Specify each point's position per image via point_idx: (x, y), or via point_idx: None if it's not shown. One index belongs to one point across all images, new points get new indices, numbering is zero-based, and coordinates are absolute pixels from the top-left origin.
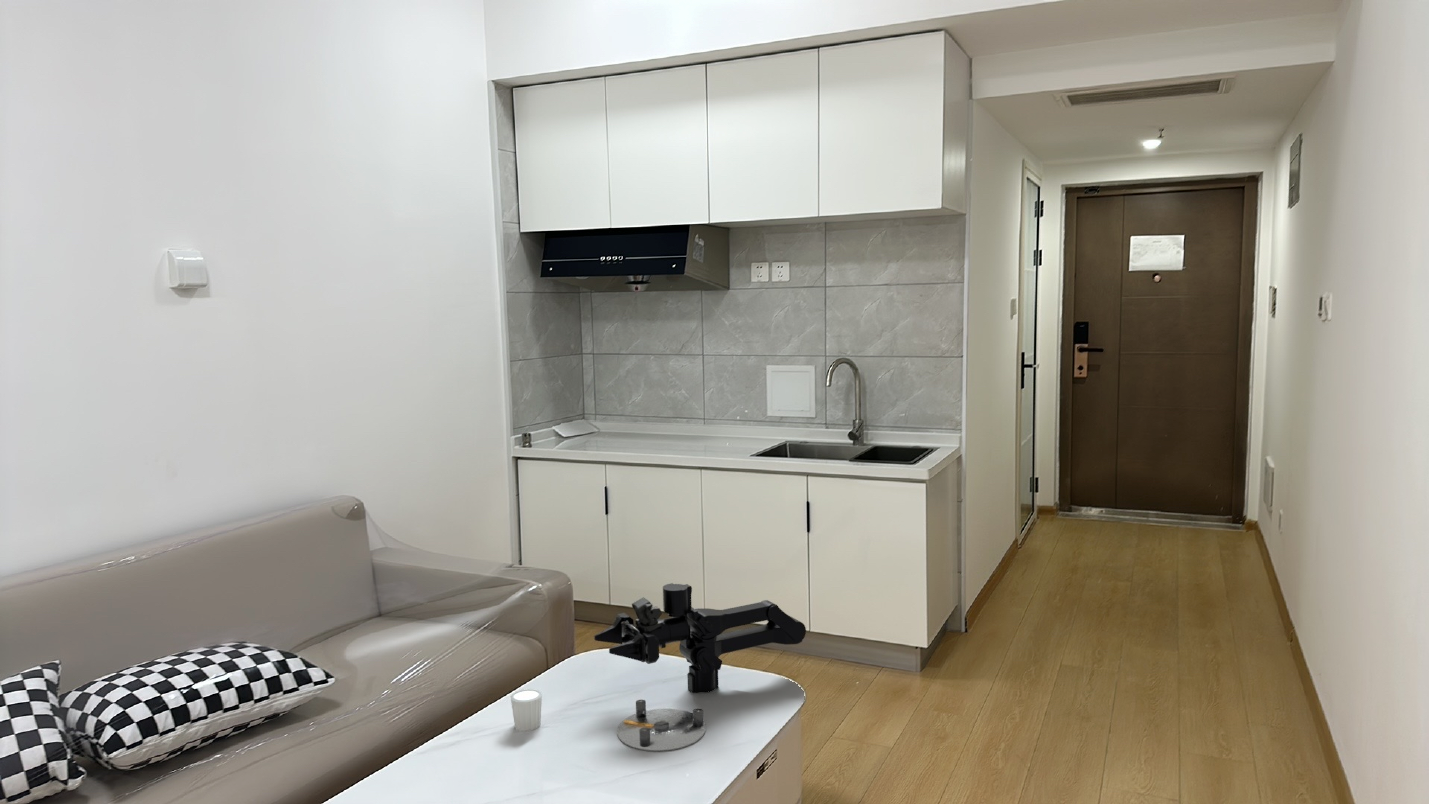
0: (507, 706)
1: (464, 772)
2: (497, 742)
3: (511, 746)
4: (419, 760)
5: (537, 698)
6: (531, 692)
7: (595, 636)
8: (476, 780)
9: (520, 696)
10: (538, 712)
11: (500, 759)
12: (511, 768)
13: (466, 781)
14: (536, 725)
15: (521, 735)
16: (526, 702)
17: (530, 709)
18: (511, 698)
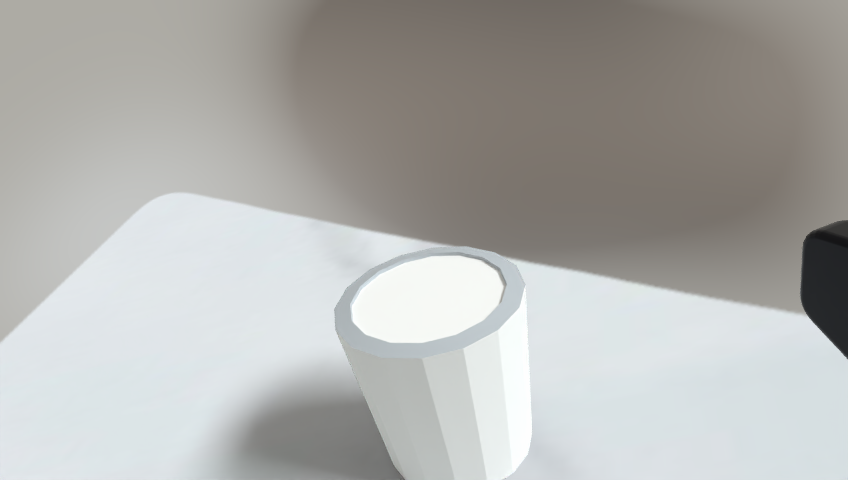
0: (697, 321)
1: (113, 338)
2: (308, 370)
3: (246, 423)
4: (266, 231)
5: (366, 349)
6: (468, 307)
7: (809, 243)
8: (28, 380)
9: (419, 279)
10: (400, 426)
11: (144, 411)
12: (36, 463)
13: (44, 357)
14: (406, 473)
15: (346, 437)
16: (335, 318)
17: (353, 370)
18: (401, 255)
